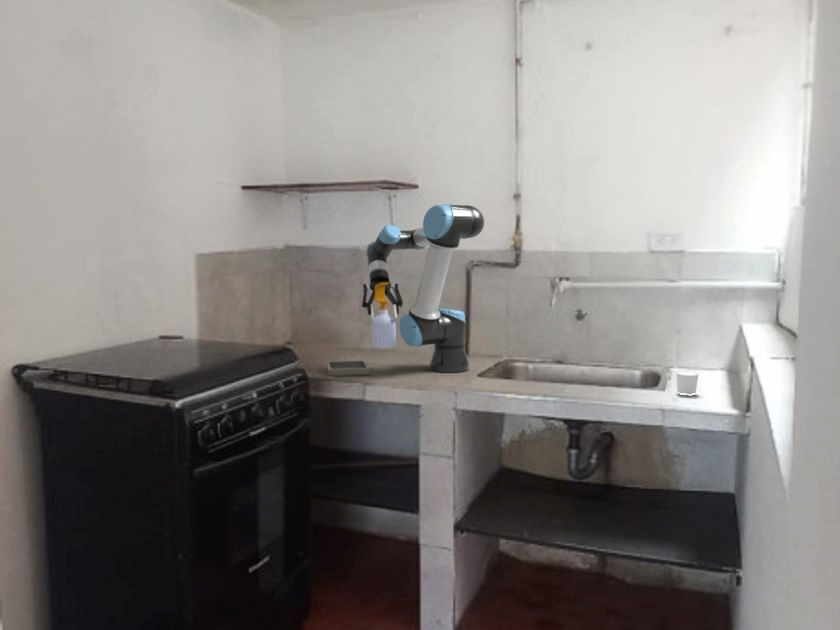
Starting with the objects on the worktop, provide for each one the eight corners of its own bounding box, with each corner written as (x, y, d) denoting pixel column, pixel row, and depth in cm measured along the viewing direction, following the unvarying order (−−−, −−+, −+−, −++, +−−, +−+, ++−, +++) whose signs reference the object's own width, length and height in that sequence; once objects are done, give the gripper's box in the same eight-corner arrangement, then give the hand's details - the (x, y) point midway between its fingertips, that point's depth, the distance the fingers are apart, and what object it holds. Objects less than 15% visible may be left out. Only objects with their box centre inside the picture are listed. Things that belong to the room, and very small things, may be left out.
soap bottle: (378, 349, 264) (377, 283, 261) (367, 346, 272) (366, 282, 269) (399, 347, 268) (399, 282, 266) (388, 344, 276) (387, 281, 273)
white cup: (699, 397, 230) (700, 375, 229) (677, 396, 231) (678, 374, 230) (694, 392, 237) (696, 371, 236) (673, 391, 238) (674, 370, 237)
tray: (365, 367, 277) (365, 360, 277) (369, 375, 262) (369, 368, 261) (326, 368, 275) (326, 361, 274) (328, 376, 259) (328, 369, 259)
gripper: (404, 280, 284) (410, 325, 270) (351, 281, 281) (356, 327, 267) (406, 267, 278) (413, 313, 264) (352, 268, 275) (357, 314, 261)
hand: (384, 320), depth 265 cm, fingers closed on soap bottle, 8 cm apart
